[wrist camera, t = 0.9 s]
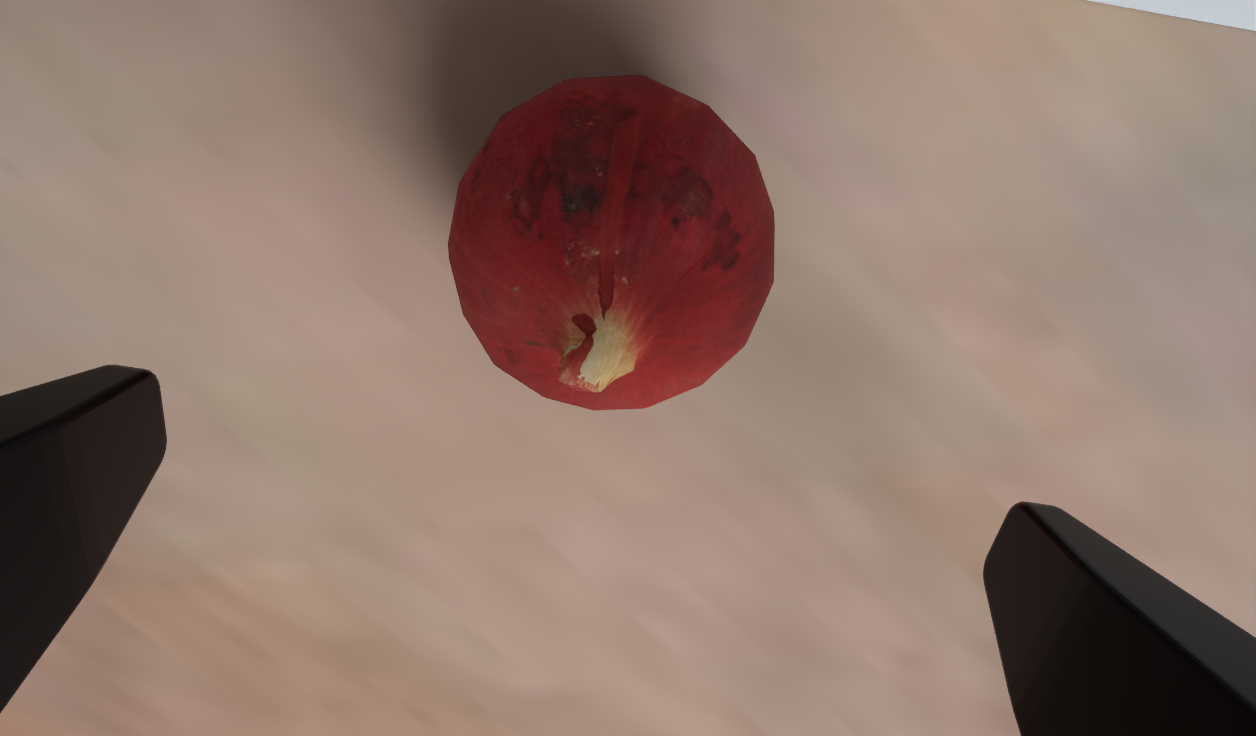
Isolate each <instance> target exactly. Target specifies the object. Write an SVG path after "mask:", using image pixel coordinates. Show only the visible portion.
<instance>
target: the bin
mask: <svg viewBox="0 0 1256 736" xmlns="http://www.w3.org/2000/svg"><path fill="white" fill-rule="evenodd" d="M1087 1H1092V2H1098V3H1103V4H1109V5H1114V6H1120V7H1125V8H1131V9H1136V10H1142V11H1147V12H1153V13H1158V14H1164V15H1169V16H1175V17H1180V18H1186V19H1191V20H1197V21H1202V22H1208V23H1214V24H1219V25H1225V26H1230V27H1236V28H1241V29H1247V30H1252V31H1256V0H1087Z"/></svg>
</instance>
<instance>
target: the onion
mask: <svg viewBox="0 0 1256 736" xmlns="http://www.w3.org/2000/svg"><path fill="white" fill-rule="evenodd" d="M774 232H775V225H774V210H773V207H772V204H771V201H770V198H769V195H768V193H767V190H766V187H765V184H764V181H763V178H762V175H761V172H760V169H759V166H758V163H757V160H756V157H755V155H754V154H753V153H752V152H751V150H750V149H749V148H748V147H747V146H746V145H745V144H744V143H743V142H742V141H741V140H740V139H739V138H738V137H737V136H736V134H735V133H734V132H733V131H732V130H731V129H730V128H729V127H728V126H727V125H726V124H725V123H724V122H723V121H722V120H721V119H720V117H719V116H718V115H717V114H716V113H715V112H714V111H713V110H712V109H711V108H710V107H709V106H708V105H706V104H704V103H702V102H700V101H698V100H696V99H693V98H691V97H689V96H687V95H685V94H682V93H680V92H678V91H676V90H674V89H671V88H669V87H667V86H665V85H663V84H660V83H658V82H656V81H654V80H652V79H649V78H647V77H645V76H643V75H628V76H609V77H589V78H572V79H567V80H563V81H562V82H560V83H558V84H556V85H555V86H553V87H551V88H549V89H548V90H546V91H544V92H542V93H540V94H539V95H537V96H535V97H533V98H532V99H530V100H528V101H526V102H525V103H523V104H521V105H519V106H517V107H516V108H514V109H512V110H510V111H509V112H507V113H505V114H503V115H502V116H501V118H500V119H499V121H498V122H497V124H496V125H495V127H494V128H493V130H492V132H491V133H490V135H489V136H488V138H487V139H486V141H485V142H484V144H483V146H482V147H481V149H480V150H479V152H478V153H477V155H476V156H475V158H474V159H473V161H472V163H471V164H470V166H469V167H468V169H467V170H466V172H465V174H464V176H463V177H462V179H461V181H460V183H459V186H458V191H457V197H456V202H455V208H454V213H453V219H452V224H451V230H450V235H449V241H448V250H449V260H450V264H451V268H452V272H453V276H454V280H455V284H456V288H457V292H458V296H459V300H460V304H461V308H462V312H463V315H464V317H465V318H466V320H467V321H468V323H469V325H470V326H471V328H472V330H473V331H474V333H475V334H476V336H477V338H478V339H479V341H480V342H481V344H482V346H483V347H484V349H485V351H486V352H487V354H488V355H489V357H490V359H491V360H492V362H493V364H494V365H496V366H497V367H498V368H500V369H501V370H503V371H504V372H506V373H507V374H509V375H510V376H512V377H514V378H515V379H517V380H518V381H520V382H521V383H523V384H524V385H526V386H528V387H529V388H531V389H532V390H534V391H535V392H537V393H538V394H540V395H541V396H543V397H545V398H548V399H552V400H556V401H560V402H564V403H568V404H571V405H575V406H579V407H583V408H587V409H591V410H615V409H641V408H647V407H650V406H652V405H655V404H657V403H659V402H662V401H664V400H667V399H669V398H671V397H674V396H676V395H679V394H681V393H683V392H686V391H688V390H691V389H693V388H696V387H698V386H700V385H702V384H703V383H704V382H705V381H707V380H708V379H709V378H710V377H711V376H712V375H713V374H714V373H715V372H716V371H718V370H719V369H720V368H721V367H722V366H723V365H724V364H725V363H726V362H727V361H729V360H730V359H731V358H732V357H733V356H734V355H735V354H736V353H737V352H738V351H740V350H741V349H742V348H743V347H744V346H745V344H746V342H747V340H748V338H749V336H750V334H751V332H752V330H753V327H754V325H755V323H756V321H757V319H758V316H759V314H760V312H761V310H762V307H763V305H764V303H765V301H766V298H767V296H768V294H769V292H770V289H771V287H772V285H773V282H774Z"/></svg>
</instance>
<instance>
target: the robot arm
mask: <svg viewBox="0 0 1256 736" xmlns="http://www.w3.org/2000/svg"><path fill="white" fill-rule="evenodd" d="M166 444H167V435H166V428H165V421H164V413H163V406H162V398H161V391H160V385H159V381H158V379H157V377H156V375H154V374H153V373H152V372H151V371H149V370H146V369H140V368H134V367H127V366H120V365H106V366H102V367H98V368H95V369H92V370H88V371H85V372H81V373H78V374H74V375H71V376H68V377H64V378H61V379H57V380H54V381H50V382H47V383H44V384H40V385H37V386H33V387H30V388H27V389H23V390H20V391H16V392H13V393H9V394H6V395H3V396H0V713H1V712H2V710H3V709H4V708H5V706H6V705H7V703H8V702H9V701H10V699H11V698H12V696H13V695H14V694H15V692H16V691H17V689H18V688H19V687H20V685H21V684H22V682H23V681H24V680H25V678H26V677H27V675H28V674H29V673H30V671H31V670H32V668H33V667H34V666H35V664H36V663H37V662H38V660H39V659H40V657H41V656H42V655H43V653H44V652H45V650H46V649H47V648H48V646H49V645H50V643H51V642H52V641H53V639H54V638H55V636H56V635H57V634H58V632H59V631H60V629H61V628H62V627H63V625H64V624H65V623H66V621H67V620H68V618H69V617H70V616H71V614H72V613H73V611H74V610H75V609H76V607H77V606H78V604H79V603H80V601H81V600H82V598H83V597H84V596H85V594H86V593H87V591H88V590H89V588H90V587H91V585H92V584H93V582H94V580H95V579H96V577H97V576H98V574H99V572H100V571H101V569H102V567H103V566H104V564H105V562H106V560H107V559H108V557H109V555H110V553H111V551H112V550H113V548H114V546H115V544H116V543H117V541H118V539H119V537H120V535H121V534H122V532H123V530H124V528H125V527H126V525H127V523H128V521H129V519H130V518H131V516H132V514H133V512H134V511H135V509H136V507H137V505H138V503H139V502H140V500H141V498H142V496H143V494H144V493H145V491H146V489H147V487H148V486H149V484H150V482H151V480H152V478H153V477H154V475H155V473H156V471H157V470H158V468H159V466H160V464H161V462H162V460H163V457H164V454H165V450H166ZM983 579H984V585H985V590H986V594H987V599H988V603H989V608H990V612H991V617H992V621H993V625H994V630H995V634H996V639H997V643H998V648H999V652H1000V657H1001V661H1002V666H1003V670H1004V675H1005V679H1006V683H1007V688H1008V692H1009V696H1010V700H1011V703H1012V707H1013V711H1014V714H1015V718H1016V721H1017V724H1018V727H1019V730H1020V734H1021V736H1256V638H1255V637H1254V636H1252V635H1251V634H1249V633H1248V632H1246V631H1245V630H1243V629H1242V628H1240V627H1239V626H1237V625H1236V624H1234V623H1233V622H1231V621H1230V620H1228V619H1226V618H1225V617H1223V616H1222V615H1220V614H1219V613H1217V612H1216V611H1214V610H1213V609H1211V608H1210V607H1208V606H1207V605H1205V604H1204V603H1202V602H1201V601H1199V600H1198V599H1196V598H1195V597H1193V596H1192V595H1190V594H1189V593H1187V592H1186V591H1184V590H1183V589H1181V588H1180V587H1178V586H1177V585H1175V584H1174V583H1172V582H1171V581H1169V580H1168V579H1166V578H1165V577H1163V576H1162V575H1160V574H1159V573H1157V572H1156V571H1154V570H1153V569H1151V568H1150V567H1148V566H1146V565H1145V564H1143V563H1142V562H1140V561H1139V560H1137V559H1136V558H1134V557H1133V556H1131V555H1130V554H1128V553H1127V552H1125V551H1124V550H1122V549H1121V548H1119V547H1118V546H1116V545H1115V544H1113V543H1112V542H1110V541H1109V540H1107V539H1106V538H1104V537H1103V536H1101V535H1100V534H1098V533H1097V532H1095V531H1094V530H1092V529H1091V528H1089V527H1088V526H1086V525H1085V524H1083V523H1082V522H1080V521H1079V520H1077V519H1076V518H1074V517H1073V516H1071V515H1069V514H1068V513H1066V512H1065V511H1063V510H1062V509H1060V508H1058V507H1055V506H1051V505H1045V504H1038V503H1031V502H1019V503H1017V504H1015V505H1014V506H1013V507H1012V508H1011V509H1010V510H1009V512H1008V513H1007V515H1006V517H1005V519H1004V522H1003V524H1002V526H1001V528H1000V530H999V532H998V534H997V536H996V538H995V540H994V542H993V544H992V546H991V548H990V550H989V553H988V555H987V557H986V560H985V563H984V569H983Z"/></svg>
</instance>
